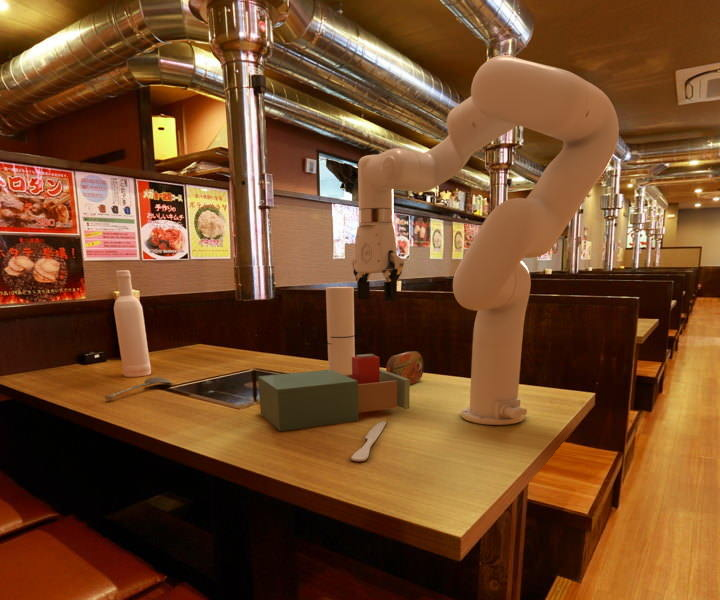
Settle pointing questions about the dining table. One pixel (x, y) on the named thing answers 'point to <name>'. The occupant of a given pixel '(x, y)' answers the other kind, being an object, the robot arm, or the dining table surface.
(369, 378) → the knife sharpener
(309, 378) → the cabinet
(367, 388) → the drawer
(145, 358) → the bottle
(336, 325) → the cylindrical container
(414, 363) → the tin
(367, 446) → the butter knife
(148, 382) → the soupspoon
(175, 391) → the dining table surface
